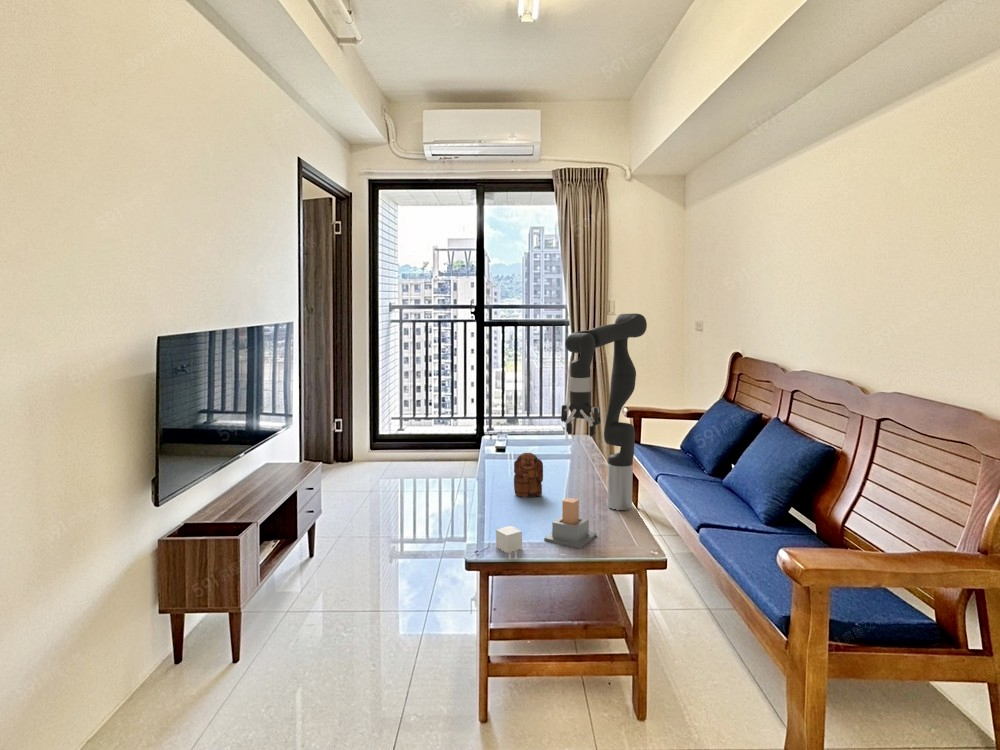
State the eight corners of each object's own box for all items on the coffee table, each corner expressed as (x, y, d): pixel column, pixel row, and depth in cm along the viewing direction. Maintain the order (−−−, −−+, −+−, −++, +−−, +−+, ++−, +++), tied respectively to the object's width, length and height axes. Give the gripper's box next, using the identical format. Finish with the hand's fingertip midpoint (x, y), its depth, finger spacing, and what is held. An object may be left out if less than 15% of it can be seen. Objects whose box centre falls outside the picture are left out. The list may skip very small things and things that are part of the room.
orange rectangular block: (562, 535, 191) (562, 500, 189) (567, 532, 194) (567, 497, 193) (573, 538, 188) (573, 502, 187) (578, 534, 192) (578, 499, 190)
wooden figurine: (515, 498, 234) (515, 455, 232) (513, 493, 240) (513, 451, 238) (544, 497, 235) (544, 454, 233) (541, 492, 241) (541, 450, 239)
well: (544, 540, 189) (544, 523, 189) (562, 528, 200) (562, 511, 199) (580, 548, 182) (580, 530, 182) (596, 535, 193) (596, 518, 192)
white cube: (511, 543, 188) (510, 525, 187) (522, 549, 183) (522, 531, 182) (496, 547, 184) (495, 529, 183) (507, 553, 179) (506, 535, 179)
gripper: (603, 389, 201) (603, 435, 202) (567, 387, 208) (567, 431, 210) (594, 392, 194) (594, 439, 196) (557, 389, 202) (557, 434, 204)
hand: (580, 434), depth 203 cm, fingers open, 8 cm apart
